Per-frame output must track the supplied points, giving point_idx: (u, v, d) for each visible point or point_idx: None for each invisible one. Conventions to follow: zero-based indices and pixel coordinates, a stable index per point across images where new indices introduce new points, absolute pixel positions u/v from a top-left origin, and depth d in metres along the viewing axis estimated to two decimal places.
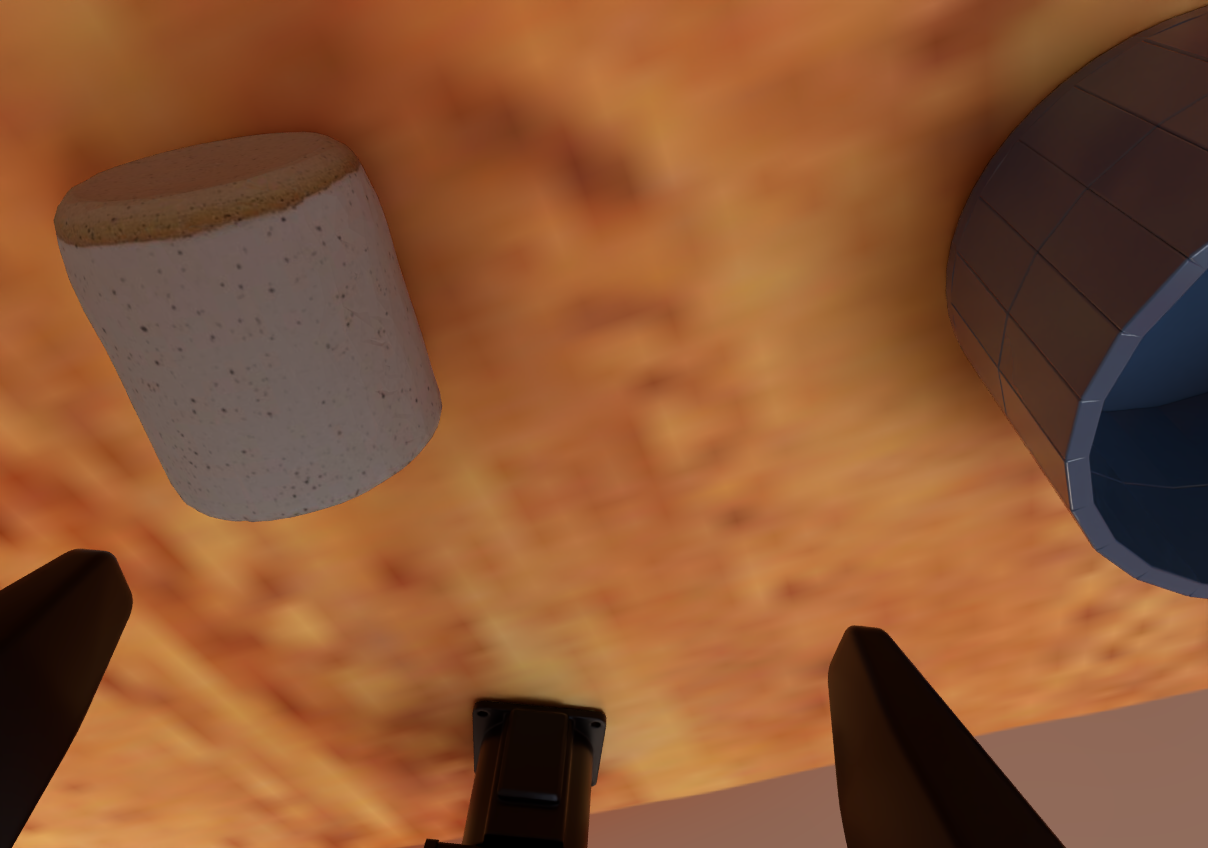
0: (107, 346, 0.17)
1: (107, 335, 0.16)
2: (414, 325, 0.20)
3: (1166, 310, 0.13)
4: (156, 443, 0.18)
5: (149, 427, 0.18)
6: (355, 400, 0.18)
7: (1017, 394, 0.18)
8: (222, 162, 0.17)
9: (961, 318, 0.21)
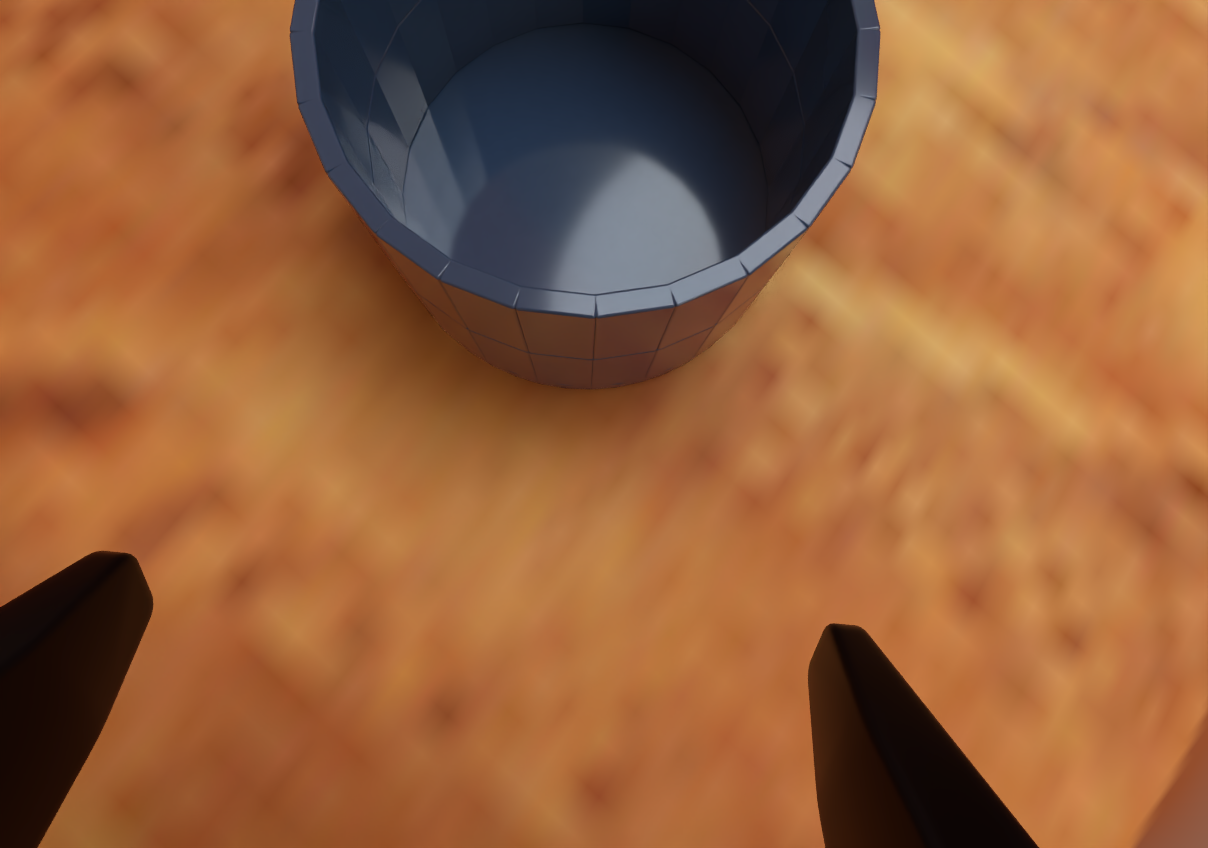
0: None
1: None
2: None
3: (313, 70, 0.15)
4: None
5: None
6: None
7: (407, 277, 0.17)
8: None
9: (440, 323, 0.21)
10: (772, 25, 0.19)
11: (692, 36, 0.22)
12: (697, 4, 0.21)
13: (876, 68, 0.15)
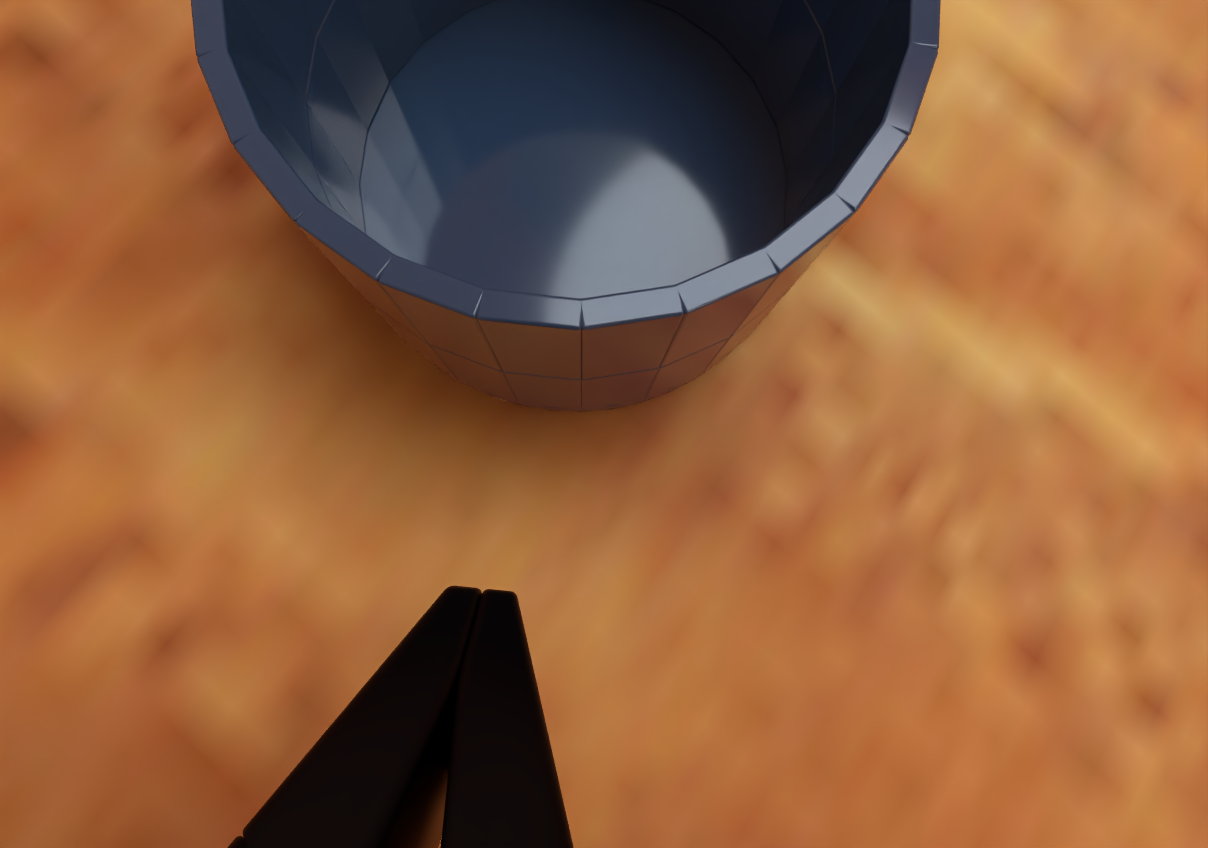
0: None
1: None
2: None
3: (217, 13, 0.11)
4: None
5: None
6: None
7: (349, 279, 0.14)
8: None
9: (400, 335, 0.17)
10: None
11: None
12: None
13: (938, 9, 0.12)
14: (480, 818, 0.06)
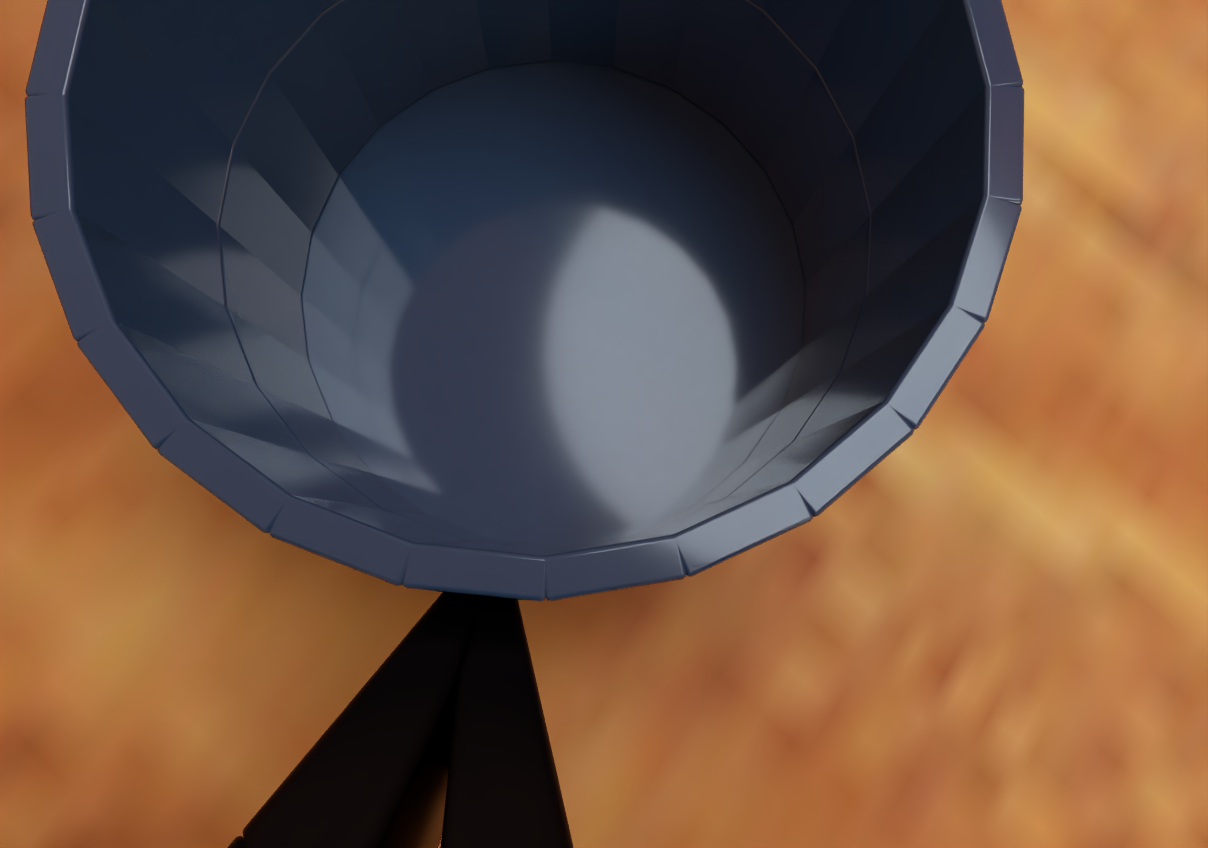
0: None
1: None
2: None
3: (61, 161, 0.09)
4: None
5: None
6: None
7: None
8: None
9: None
10: (821, 68, 0.13)
11: (700, 79, 0.16)
12: (707, 36, 0.15)
13: (1021, 151, 0.09)
14: (480, 817, 0.06)
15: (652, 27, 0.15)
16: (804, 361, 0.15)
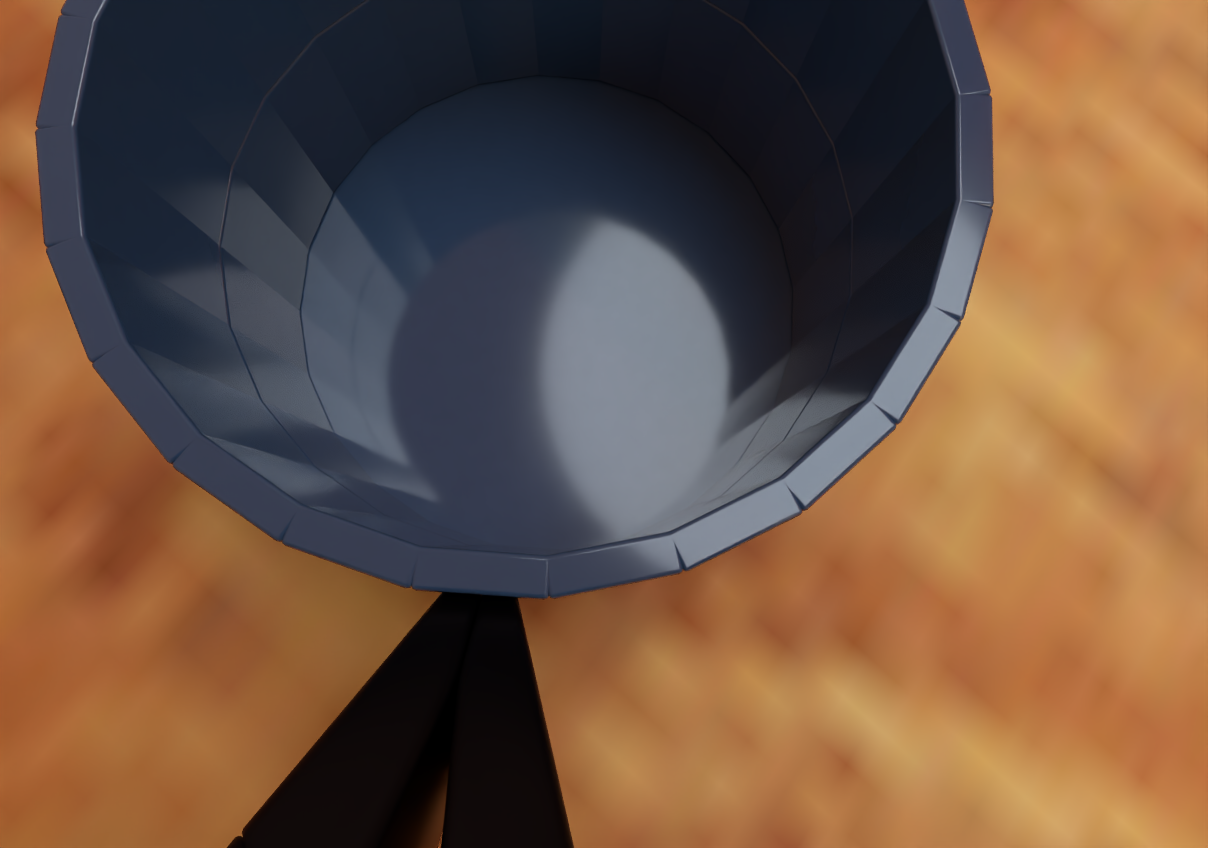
0: None
1: None
2: None
3: (72, 190, 0.09)
4: None
5: None
6: None
7: None
8: None
9: None
10: (800, 79, 0.13)
11: (684, 90, 0.16)
12: (690, 49, 0.15)
13: (991, 156, 0.09)
14: (480, 817, 0.06)
15: (635, 42, 0.16)
16: (793, 362, 0.16)
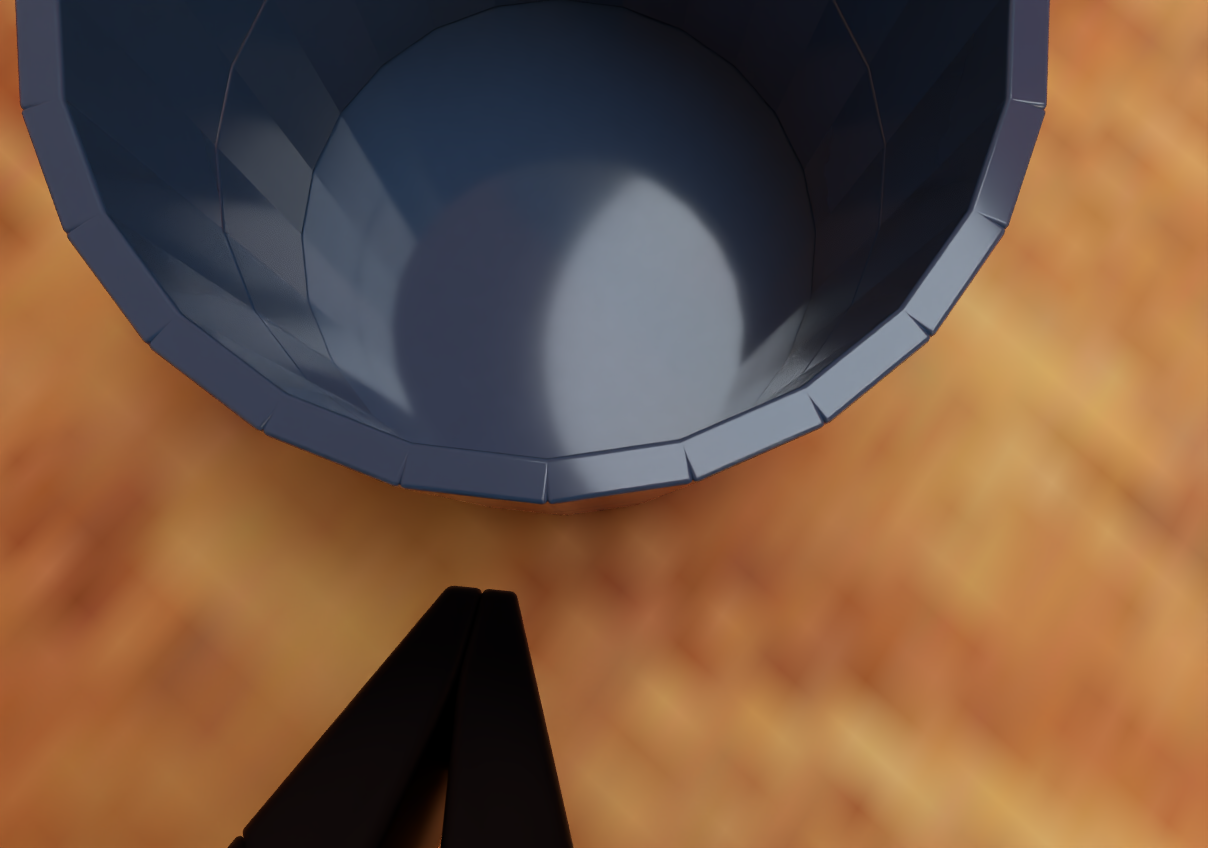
0: None
1: None
2: None
3: (52, 48, 0.08)
4: None
5: None
6: None
7: None
8: None
9: None
10: None
11: (711, 17, 0.16)
12: None
13: (1046, 53, 0.09)
14: (480, 817, 0.06)
15: None
16: (813, 306, 0.15)
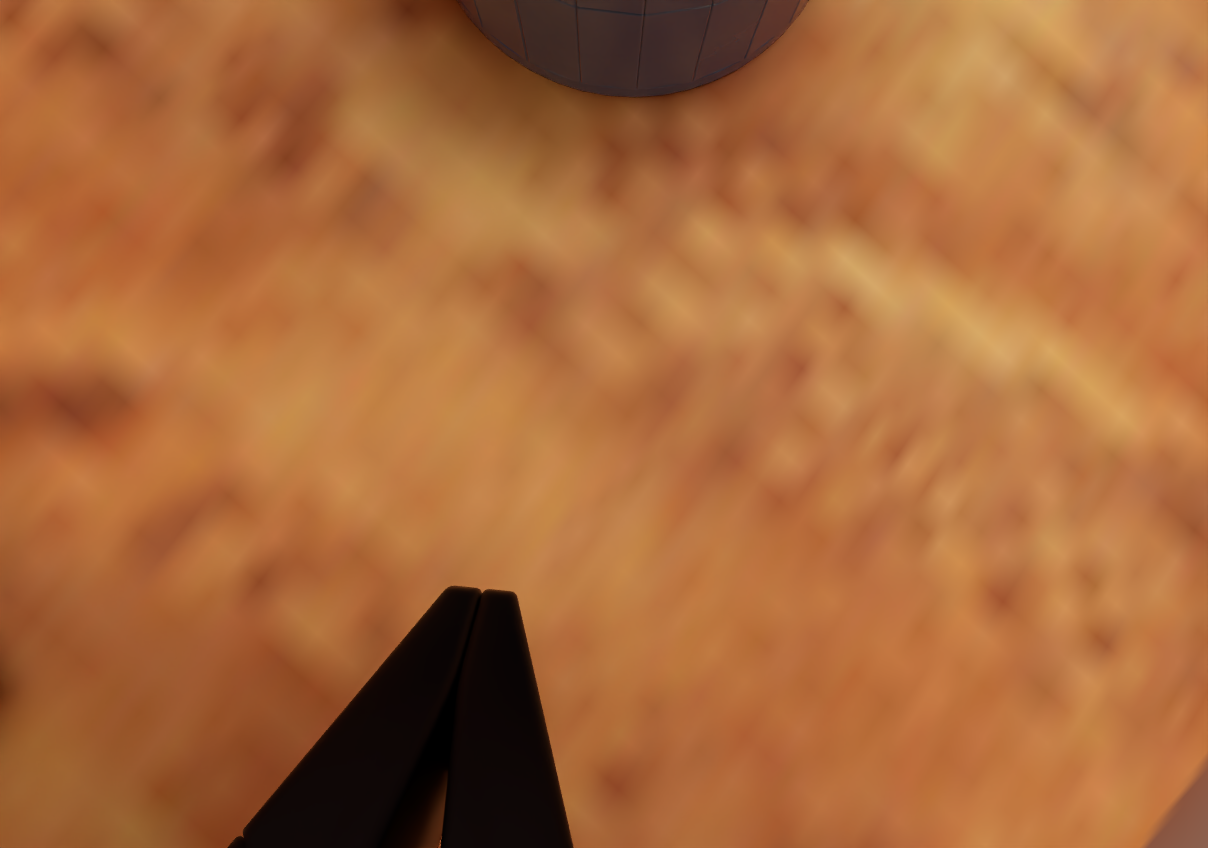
0: None
1: None
2: None
3: None
4: None
5: None
6: None
7: None
8: None
9: (478, 10, 0.20)
10: None
11: None
12: None
13: None
14: (480, 819, 0.06)
15: None
16: None
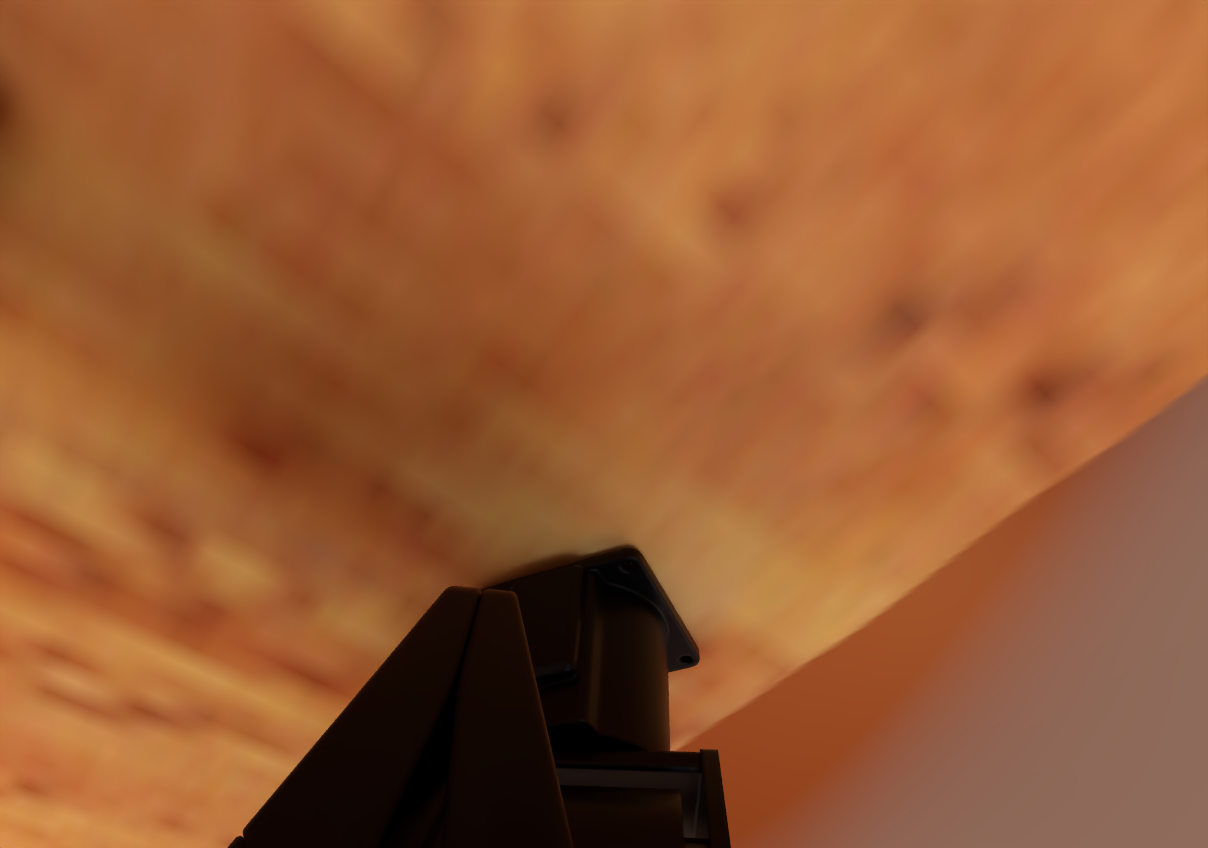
0: None
1: None
2: None
3: None
4: None
5: None
6: None
7: None
8: None
9: None
10: None
11: None
12: None
13: None
14: (480, 817, 0.06)
15: None
16: None
